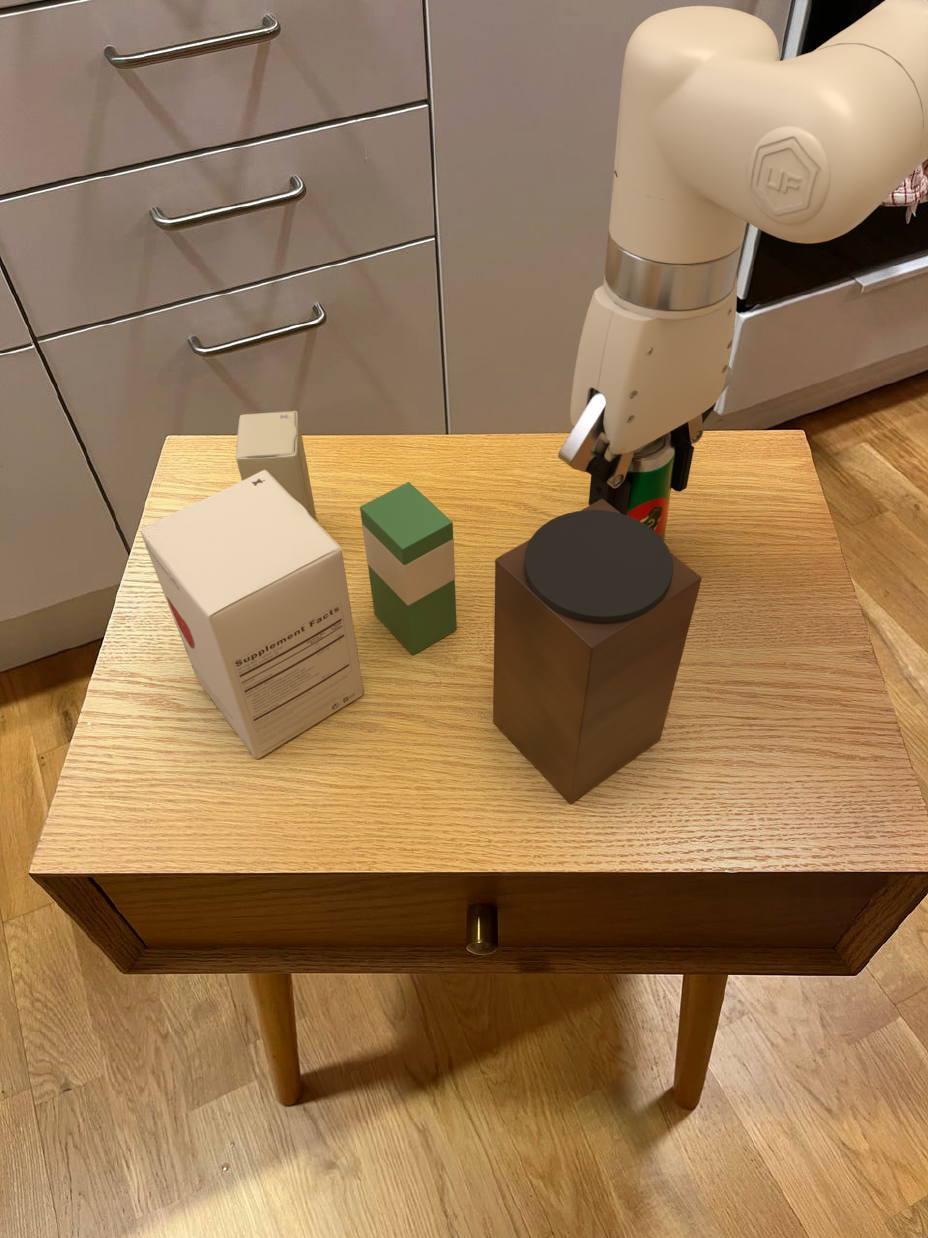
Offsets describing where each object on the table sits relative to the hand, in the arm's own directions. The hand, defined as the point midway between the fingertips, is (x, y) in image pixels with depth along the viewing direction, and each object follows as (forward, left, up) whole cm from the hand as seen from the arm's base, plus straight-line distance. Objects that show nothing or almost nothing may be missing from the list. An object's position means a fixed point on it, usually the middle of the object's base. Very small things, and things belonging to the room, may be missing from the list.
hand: (637, 496), depth 69 cm
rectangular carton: (+6, +27, -8) cm, 29 cm away
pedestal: (-9, +13, -7) cm, 18 cm away
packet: (+5, +14, -2) cm, 15 cm away
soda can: (0, 0, -7) cm, 7 cm away
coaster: (-9, +13, +9) cm, 18 cm away
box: (+18, +19, -8) cm, 28 cm away
